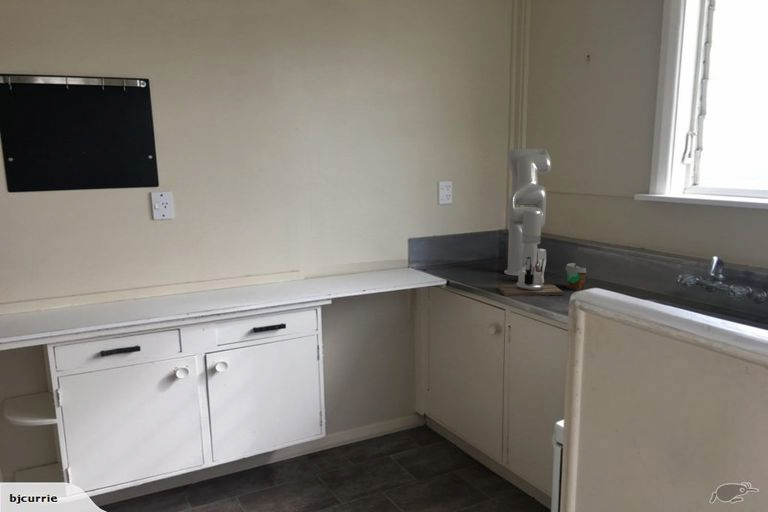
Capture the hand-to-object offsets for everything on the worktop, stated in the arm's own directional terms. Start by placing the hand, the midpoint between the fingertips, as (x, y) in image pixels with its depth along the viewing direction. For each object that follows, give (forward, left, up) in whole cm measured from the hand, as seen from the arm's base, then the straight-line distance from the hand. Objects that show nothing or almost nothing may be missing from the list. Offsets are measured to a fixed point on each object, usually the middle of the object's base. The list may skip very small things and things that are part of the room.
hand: (529, 282), depth 255 cm
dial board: (0, 0, -4) cm, 4 cm away
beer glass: (-18, +8, -4) cm, 20 cm away
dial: (0, 0, -2) cm, 2 cm away
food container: (-6, +20, -4) cm, 22 cm away
